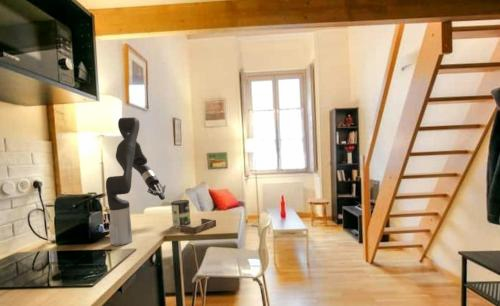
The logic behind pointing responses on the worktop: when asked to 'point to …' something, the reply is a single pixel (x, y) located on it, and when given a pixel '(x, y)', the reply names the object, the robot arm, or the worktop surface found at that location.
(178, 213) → the coffee can
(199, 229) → the walnut bay
